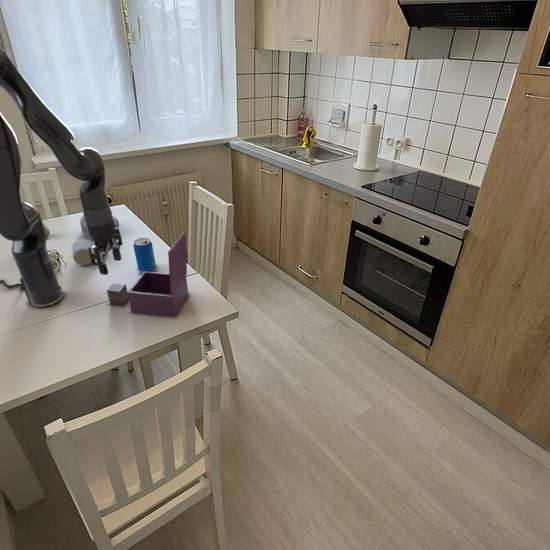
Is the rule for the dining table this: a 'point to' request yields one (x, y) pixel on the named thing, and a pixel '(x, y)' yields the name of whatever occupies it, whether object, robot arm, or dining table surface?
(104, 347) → the dining table surface
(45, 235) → the fennel bulb
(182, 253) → the lid
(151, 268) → the beverage can
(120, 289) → the block
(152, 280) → the file box
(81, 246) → the ceramic mug
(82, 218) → the grey rounded bag
